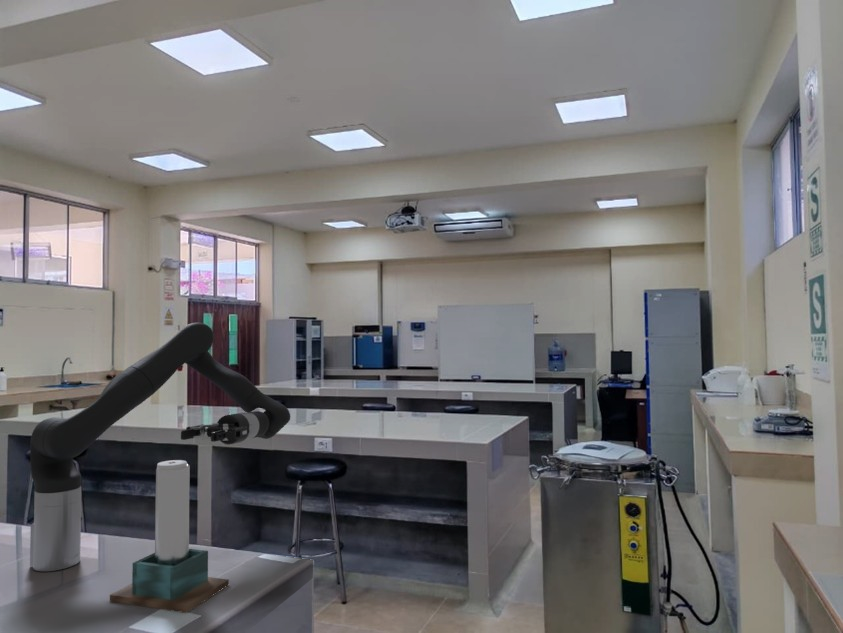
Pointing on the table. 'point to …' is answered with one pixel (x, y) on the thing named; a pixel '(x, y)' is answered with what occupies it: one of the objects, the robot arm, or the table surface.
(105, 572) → the table surface
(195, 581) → the cup stand
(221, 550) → the table surface
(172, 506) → the silver metal cylinder
